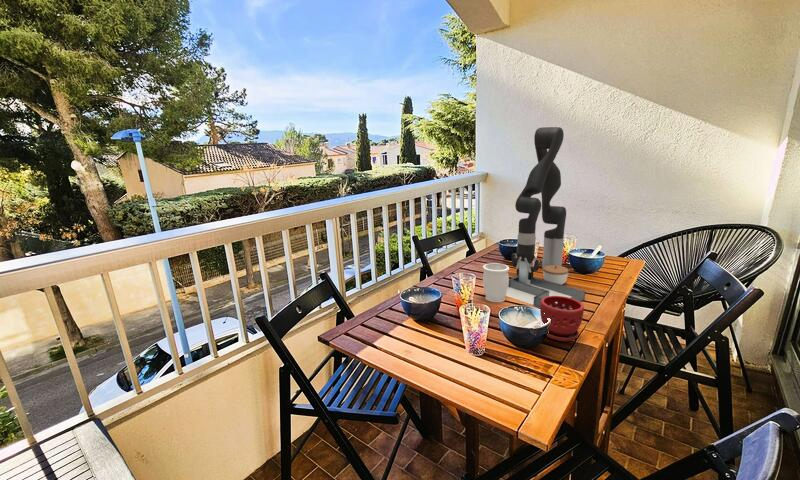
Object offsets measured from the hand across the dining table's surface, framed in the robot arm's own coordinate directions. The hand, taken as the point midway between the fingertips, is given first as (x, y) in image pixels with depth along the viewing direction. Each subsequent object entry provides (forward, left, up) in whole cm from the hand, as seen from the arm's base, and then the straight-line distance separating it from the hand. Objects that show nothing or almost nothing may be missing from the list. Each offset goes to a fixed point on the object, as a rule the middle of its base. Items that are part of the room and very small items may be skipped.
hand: (524, 277), depth 156 cm
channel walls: (+5, +10, -4) cm, 12 cm away
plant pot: (+27, +31, -5) cm, 42 cm away
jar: (+20, -1, -5) cm, 21 cm away
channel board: (+5, +10, -5) cm, 12 cm away
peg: (0, 0, -4) cm, 4 cm away
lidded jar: (-14, +7, -5) cm, 16 cm away
